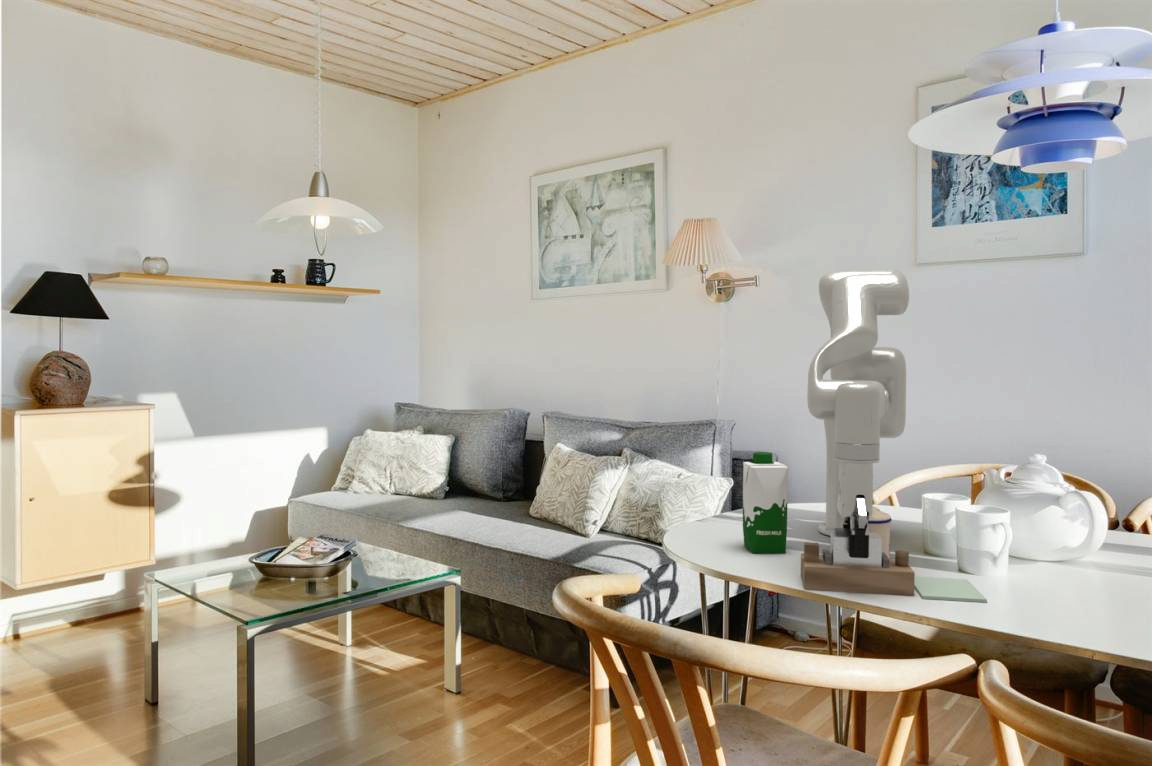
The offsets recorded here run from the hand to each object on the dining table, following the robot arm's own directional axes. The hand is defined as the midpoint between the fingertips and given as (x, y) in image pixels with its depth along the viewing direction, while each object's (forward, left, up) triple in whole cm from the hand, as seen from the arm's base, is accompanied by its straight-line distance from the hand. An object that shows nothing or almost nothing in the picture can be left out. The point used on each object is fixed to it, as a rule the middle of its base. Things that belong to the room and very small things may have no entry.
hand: (855, 551), depth 141 cm
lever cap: (0, 0, -2) cm, 2 cm away
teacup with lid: (-20, +4, -6) cm, 21 cm away
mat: (0, +15, -6) cm, 16 cm away
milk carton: (-23, -15, -6) cm, 28 cm away
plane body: (0, 0, -6) cm, 6 cm away
